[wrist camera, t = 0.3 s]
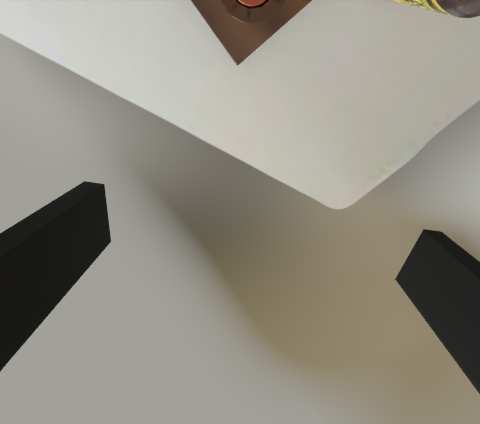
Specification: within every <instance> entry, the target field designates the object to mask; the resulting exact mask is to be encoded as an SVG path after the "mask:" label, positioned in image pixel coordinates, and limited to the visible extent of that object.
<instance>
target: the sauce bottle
mask: <svg viewBox="0 0 480 424" xmlns="http://www.w3.org/2000/svg"><path fill="white" fill-rule="evenodd" d="M395 1H398V2H402V3H406V4H410V5H413V6H417V7H420V8H424V9H427V10H431V11H436V12H439V13H444V14H448V15H452V16H455V17H460V18H471V17H476V16H480V0H395Z"/></svg>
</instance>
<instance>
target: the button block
mask: <svg viewBox="0 0 480 424" xmlns="http://www.w3.org/2000/svg"><path fill="white" fill-rule="evenodd" d="M191 1H192V2H193V4H194V5H195V7H196V8H197V9H198V11H199V12H200V14H201V15H202V17H203V18H204V19H205V21H206V22H207V24H208V25H209V26H210V28H211V29H212V31H213V32H214V33H215V35H216V36H217V38H218V39H219V41H220V42H221V43H222V45H223V46H224V48H225V49H226V50H227V52H228V53H229V55H230V56H231V57H232V59H233V60H234V62H235V63H236V65H239V64H240V63H241V62H242V61H243V60H245V59H246V58H247V57H248V56H249V55H250V54H251V53H253V52H254V51H255V50H256V49H257V48H258V47H259V46H261V45H262V44H263V43H264V42H265V41H266V40H267V39H269V38H270V37H271V36H272V35H273V34H274V33H275V32H277V31H278V30H279V29H280V28H281V27H282V26H283V25H284V24H286V23H287V22H288V21H289V20H290V19H291V18H292V17H294V16H295V15H296V14H297V13H298V12H299V11H300V10H302V9H303V8H304V7H305V6H306V5H307V4H308V3H310V2H311V1H312V0H265V1H264V2H263V3H261V4H259V5H257V6H247V5H244V4H242V3H241V2H240V1H238V0H191Z"/></svg>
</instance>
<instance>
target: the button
mask: <svg viewBox="0 0 480 424" xmlns="http://www.w3.org/2000/svg"><path fill="white" fill-rule="evenodd" d="M238 1H240V2H241V3H242V4H244V5H247V6H257V5H259V4H261V3H263V2H264V1H265V0H238Z"/></svg>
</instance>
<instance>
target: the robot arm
mask: <svg viewBox="0 0 480 424" xmlns="http://www.w3.org/2000/svg"><path fill="white" fill-rule="evenodd" d="M110 242H111V238H110V230H109V221H108V213H107V204H106V196H105V187H104V184H98V183H92V182H83V183H81V184H80V185H78V186H76V187H75V188H73V189H72V190H70V191H68V192H67V193H65V194H64V195H62V196H60V197H59V198H57V199H55V200H54V201H52V202H51V203H49V204H48V205H46V206H44V207H43V208H41V209H40V210H38V211H36V212H34V213H33V214H31V215H30V216H28V217H26V218H25V219H23V220H21V221H20V222H18V223H17V224H15V225H13V226H12V227H10V228H8V229H7V230H5V231H4V232H2V233H0V371H1V370H2V369H3V367H4V366H5V365H6V364H7V363H8V361H9V360H10V359H11V358H12V357H13V356H14V354H15V353H16V352H17V351H18V350H19V349H20V347H21V346H22V345H23V344H24V343H25V342H26V340H27V339H28V338H29V337H30V336H31V335H32V333H33V332H34V331H35V330H36V329H37V328H38V326H39V325H40V324H41V323H42V322H43V321H44V319H45V318H46V317H47V316H48V315H49V313H50V312H51V311H52V310H53V309H54V308H55V306H56V305H57V304H58V303H59V302H60V301H61V299H62V298H63V297H64V296H65V295H66V294H67V292H68V291H69V290H70V289H71V288H72V286H73V285H74V284H75V283H76V282H77V281H78V279H79V278H80V277H81V276H82V275H83V274H84V272H85V271H86V270H87V269H88V268H89V267H90V265H91V264H92V263H93V262H94V261H95V260H96V258H97V257H98V256H99V255H100V254H101V252H102V251H103V250H104V249H105V248H106V247H107V246H108V244H109V243H110ZM396 281H397V282H398V283H399V285H400V286H401V288H402V289H403V290H404V292H405V293H406V294H407V296H408V297H409V298H410V300H411V301H412V303H413V304H414V305H415V307H416V308H417V309H418V311H419V312H420V313H421V315H422V316H423V318H424V319H425V320H426V322H427V323H428V324H429V326H430V327H431V328H432V330H433V331H434V332H435V334H436V335H437V336H438V338H439V339H440V341H441V342H442V343H443V345H444V346H445V347H446V349H447V350H448V352H449V353H450V354H451V355H452V357H453V358H454V360H455V361H456V362H457V364H458V365H459V367H460V368H461V369H462V371H463V372H464V373H465V375H466V376H467V377H468V379H469V380H470V381H471V383H472V384H473V386H474V387H475V388H476V390H477V391H478V392H479V394H480V262H479V261H478V260H476V259H475V258H474V257H473V256H471V255H470V254H469V253H467V252H466V251H465V250H464V249H462V248H461V247H460V246H459V245H457V244H456V243H455V242H453V241H452V240H451V239H450V238H449V237H447V236H446V235H445V234H444V233H442V232H439V231H432V230H425V229H424V230H423V231H422V233H421V235H420V237H419V238H418V240H417V242H416V244H415V245H414V247H413V249H412V251H411V253H410V254H409V256H408V258H407V260H406V262H405V263H404V265H403V267H402V269H401V270H400V272H399V274H398V275H397V278H396Z"/></svg>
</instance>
